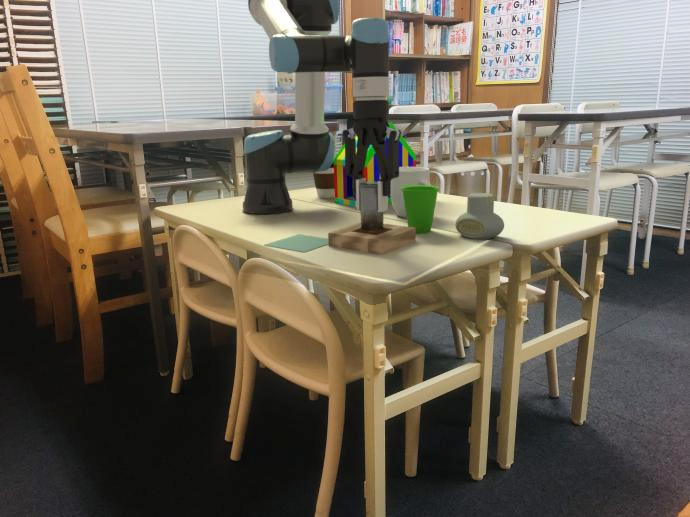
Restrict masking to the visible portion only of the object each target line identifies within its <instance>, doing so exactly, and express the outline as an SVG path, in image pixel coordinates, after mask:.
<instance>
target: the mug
mask: <svg viewBox="0 0 690 517" xmlns="http://www.w3.org/2000/svg"><path fill="white" fill-rule="evenodd" d="M430 172H431V171H430V168H429V167H423V166H416V167H399V177H397V178H394V179H392V180H391V194H390V196H391V201H392V203H391V205H392V208H393V210H394V212H395V215H397V216H398V217H400V218H404V219H405V218H406V219H407V217H406V210H405V203H404V197H403V190H401V188H402V187H405V186H413V185H429V186H432V184H431V182H430V181H431V180H430V177H431V176H430V175H431V174H430Z"/></svg>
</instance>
